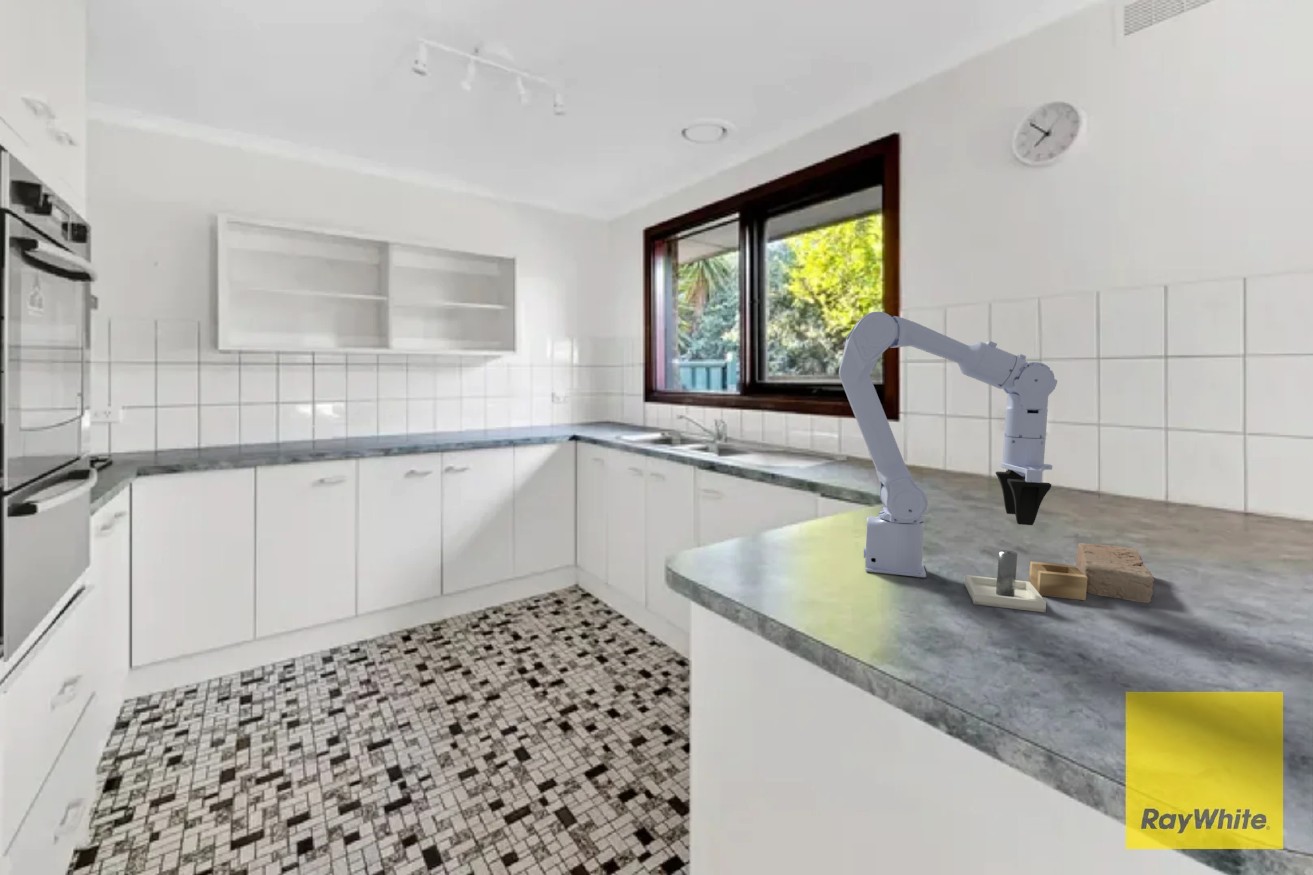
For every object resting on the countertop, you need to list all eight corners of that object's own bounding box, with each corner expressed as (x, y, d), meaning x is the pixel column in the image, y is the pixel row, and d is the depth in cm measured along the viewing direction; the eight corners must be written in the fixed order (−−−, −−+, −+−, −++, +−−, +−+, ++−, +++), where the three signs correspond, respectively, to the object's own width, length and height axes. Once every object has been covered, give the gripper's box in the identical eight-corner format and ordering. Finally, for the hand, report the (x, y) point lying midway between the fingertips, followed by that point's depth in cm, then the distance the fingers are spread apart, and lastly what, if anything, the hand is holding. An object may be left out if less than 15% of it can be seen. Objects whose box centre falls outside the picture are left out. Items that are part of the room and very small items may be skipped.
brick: (1154, 605, 86) (1157, 574, 86) (1083, 594, 90) (1086, 564, 90) (1134, 574, 100) (1137, 548, 100) (1074, 566, 105) (1076, 540, 104)
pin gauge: (998, 596, 87) (1001, 553, 87) (993, 590, 90) (996, 549, 89) (1016, 597, 87) (1019, 555, 86) (1011, 592, 89) (1014, 550, 88)
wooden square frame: (1038, 595, 89) (1040, 572, 89) (1028, 582, 95) (1030, 561, 95) (1085, 600, 87) (1087, 577, 87) (1072, 586, 93) (1073, 565, 93)
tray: (973, 604, 86) (974, 594, 86) (964, 583, 94) (964, 574, 94) (1045, 612, 83) (1046, 602, 83) (1028, 590, 91) (1029, 581, 91)
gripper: (1068, 442, 87) (1061, 531, 88) (1040, 433, 100) (1035, 511, 102) (1013, 440, 89) (1007, 527, 91) (994, 432, 103) (989, 508, 104)
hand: (1019, 518), depth 96 cm, fingers open, 7 cm apart
